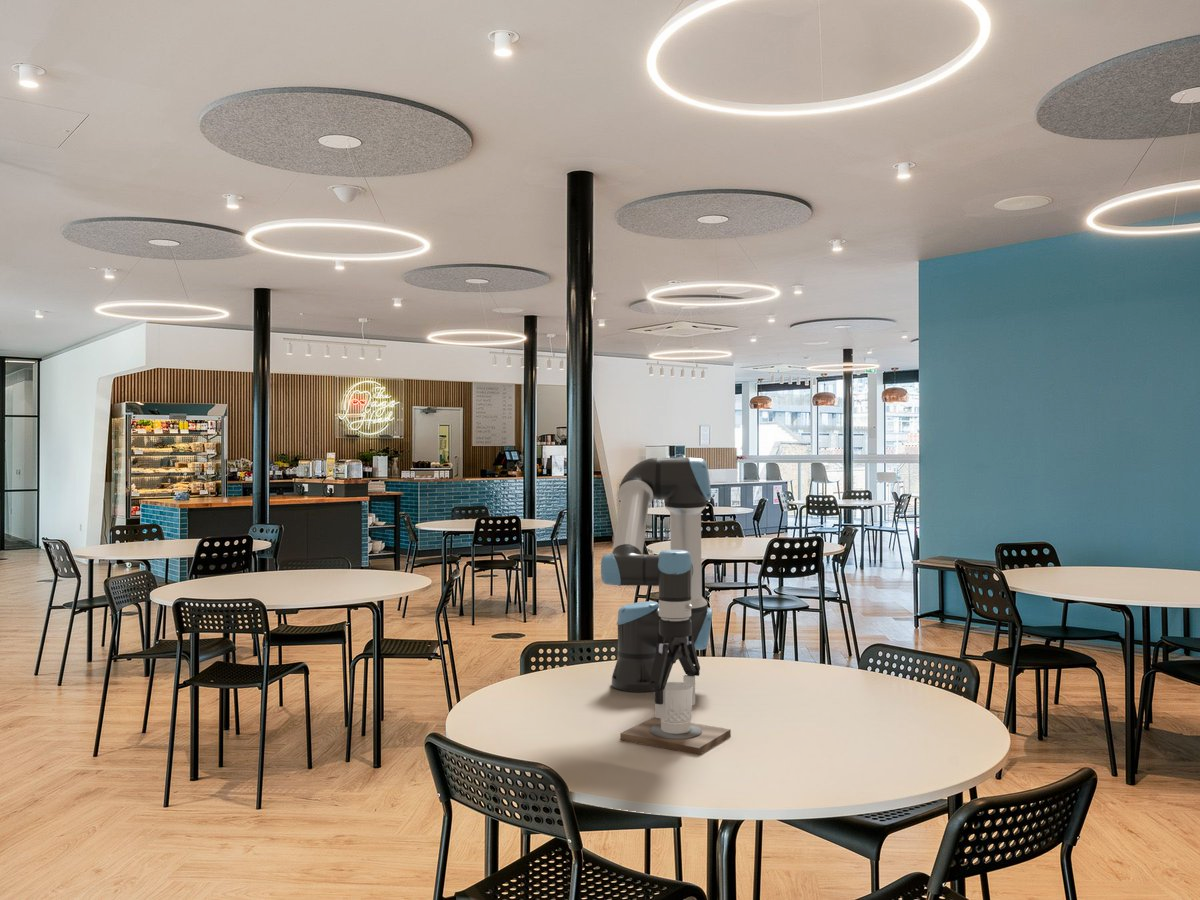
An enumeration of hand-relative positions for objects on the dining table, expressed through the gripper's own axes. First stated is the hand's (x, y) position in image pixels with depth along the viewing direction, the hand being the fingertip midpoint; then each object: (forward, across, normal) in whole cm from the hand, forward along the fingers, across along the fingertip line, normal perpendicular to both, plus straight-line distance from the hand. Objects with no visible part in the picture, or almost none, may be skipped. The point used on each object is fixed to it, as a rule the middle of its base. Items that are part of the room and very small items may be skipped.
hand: (675, 710), depth 205 cm
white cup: (+4, 0, 0) cm, 5 cm away
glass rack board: (+6, 0, 0) cm, 6 cm away
